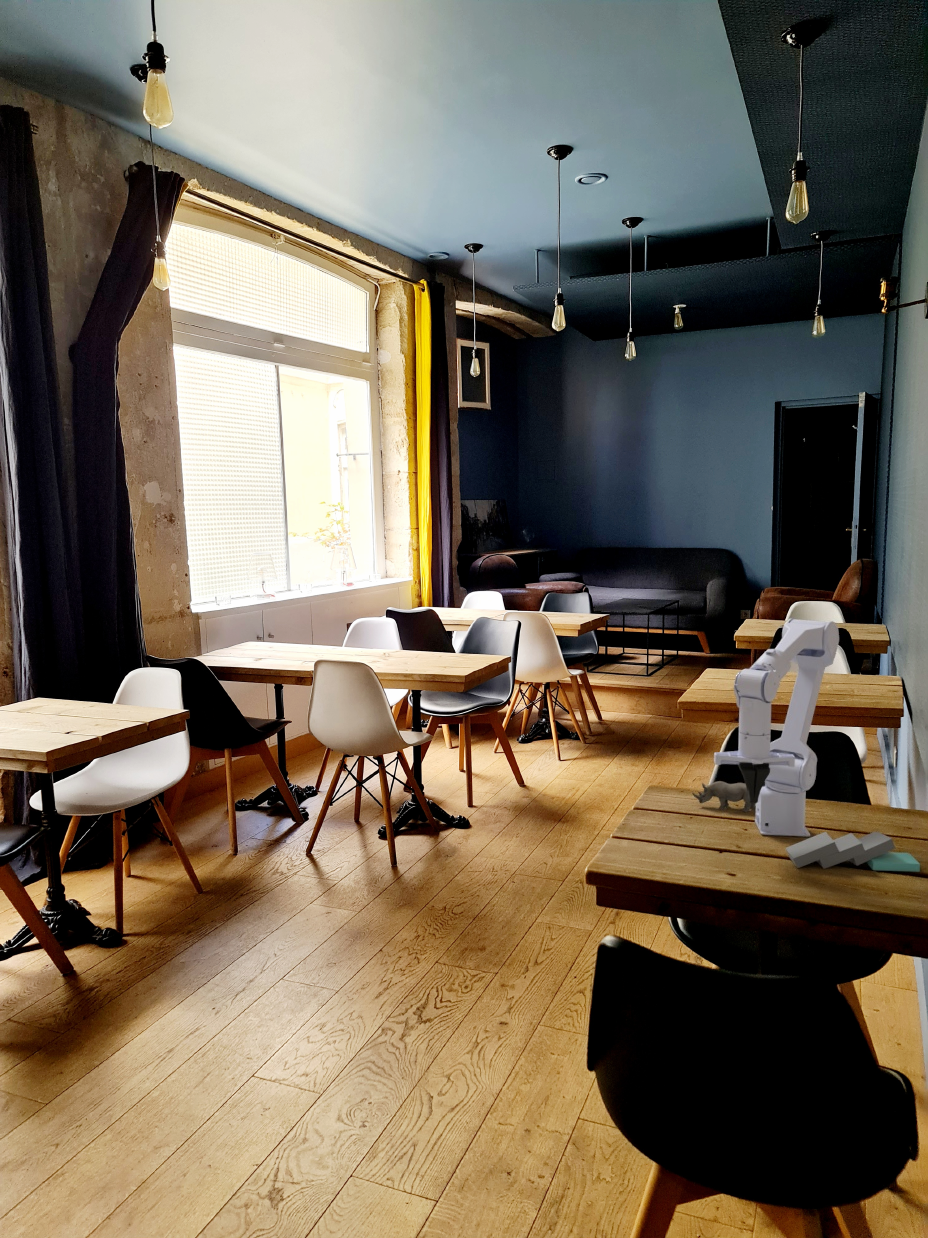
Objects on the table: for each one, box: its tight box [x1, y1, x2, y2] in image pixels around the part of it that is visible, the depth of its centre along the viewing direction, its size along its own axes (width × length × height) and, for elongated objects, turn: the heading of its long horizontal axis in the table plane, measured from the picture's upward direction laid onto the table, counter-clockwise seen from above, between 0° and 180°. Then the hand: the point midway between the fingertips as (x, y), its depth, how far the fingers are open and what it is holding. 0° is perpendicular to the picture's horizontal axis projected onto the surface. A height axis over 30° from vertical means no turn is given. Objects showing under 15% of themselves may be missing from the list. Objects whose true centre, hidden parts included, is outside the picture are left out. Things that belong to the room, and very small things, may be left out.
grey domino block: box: [847, 830, 896, 866], centre depth 159 cm, size 2×5×8 cm
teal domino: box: [865, 852, 921, 872], centre depth 158 cm, size 2×5×8 cm
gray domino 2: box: [816, 832, 866, 870], centre depth 158 cm, size 2×5×8 cm
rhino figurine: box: [692, 780, 756, 813], centre depth 189 cm, size 4×14×6 cm, turn 74°
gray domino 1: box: [784, 831, 839, 869], centre depth 159 cm, size 2×5×8 cm
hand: (752, 801), depth 164 cm, fingers closed
